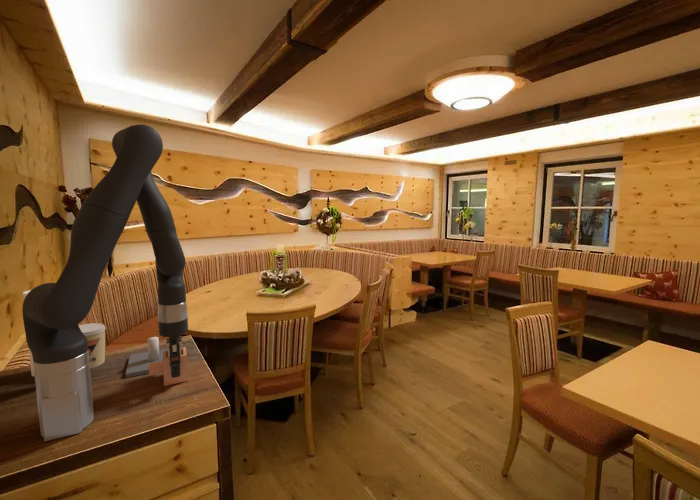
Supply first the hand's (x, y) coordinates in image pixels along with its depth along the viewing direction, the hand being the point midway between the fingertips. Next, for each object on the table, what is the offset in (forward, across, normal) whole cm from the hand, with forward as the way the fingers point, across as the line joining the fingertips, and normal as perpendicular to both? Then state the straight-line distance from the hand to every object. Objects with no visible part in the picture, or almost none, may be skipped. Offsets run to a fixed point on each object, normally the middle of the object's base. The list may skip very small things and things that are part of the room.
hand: (175, 369), depth 95 cm
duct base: (+3, +14, +6) cm, 15 cm away
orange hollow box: (+3, 0, +2) cm, 3 cm away
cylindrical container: (+3, +22, +34) cm, 41 cm away
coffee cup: (+3, +22, +24) cm, 33 cm away
